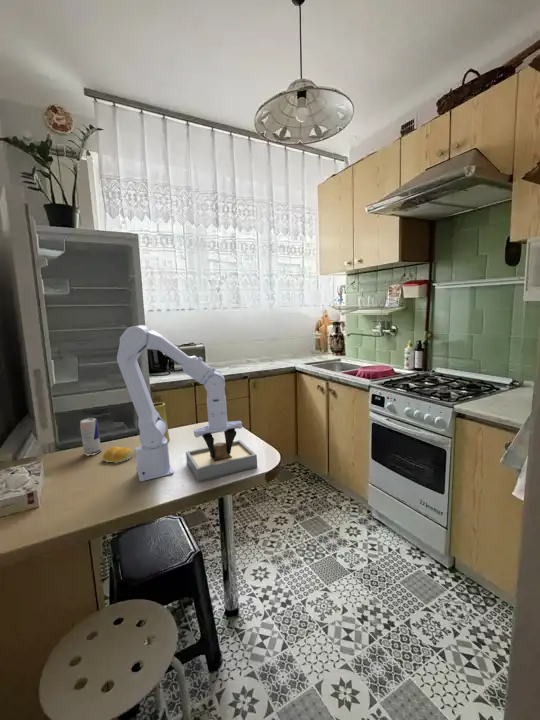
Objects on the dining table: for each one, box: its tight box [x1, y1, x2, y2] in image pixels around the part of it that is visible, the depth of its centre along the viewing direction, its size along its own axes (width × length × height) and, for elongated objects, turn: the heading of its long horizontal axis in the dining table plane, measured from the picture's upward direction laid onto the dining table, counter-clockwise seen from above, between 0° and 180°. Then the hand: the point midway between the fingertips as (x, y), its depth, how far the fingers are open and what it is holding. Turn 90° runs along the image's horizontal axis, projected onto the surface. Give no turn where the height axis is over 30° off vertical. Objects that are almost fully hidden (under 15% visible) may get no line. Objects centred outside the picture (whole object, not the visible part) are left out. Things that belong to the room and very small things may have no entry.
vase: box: [153, 401, 171, 442], centre depth 132 cm, size 6×6×14 cm
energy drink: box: [79, 417, 102, 454], centre depth 124 cm, size 5×5×12 cm
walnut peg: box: [214, 441, 227, 462], centre depth 109 cm, size 4×4×6 cm
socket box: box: [185, 439, 258, 483], centre depth 109 cm, size 18×14×4 cm
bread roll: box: [102, 446, 133, 463], centre depth 119 cm, size 8×9×4 cm
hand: (220, 454), depth 109 cm, fingers open, 4 cm apart
